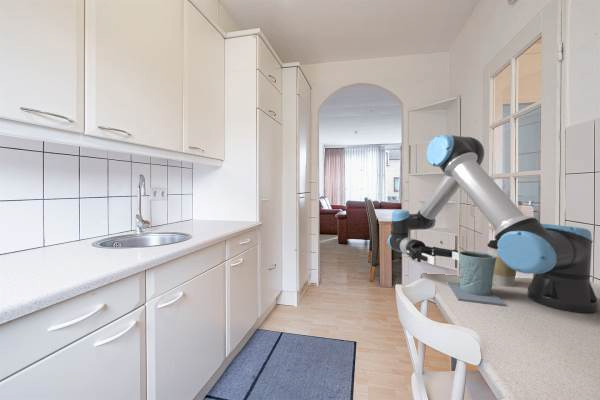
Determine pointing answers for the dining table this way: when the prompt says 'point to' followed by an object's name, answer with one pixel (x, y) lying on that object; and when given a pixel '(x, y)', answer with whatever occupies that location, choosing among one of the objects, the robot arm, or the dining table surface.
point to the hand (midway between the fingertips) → (451, 260)
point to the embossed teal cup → (476, 272)
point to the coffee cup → (501, 268)
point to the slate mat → (475, 296)
